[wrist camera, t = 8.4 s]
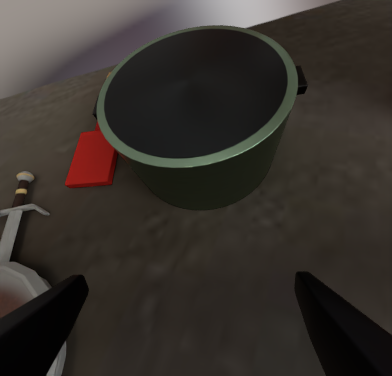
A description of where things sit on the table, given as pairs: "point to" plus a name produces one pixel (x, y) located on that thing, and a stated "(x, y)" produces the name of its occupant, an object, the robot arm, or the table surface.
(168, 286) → the table surface
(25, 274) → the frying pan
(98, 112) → the cooking pot
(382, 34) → the table surface
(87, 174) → the spatula
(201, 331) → the table surface
